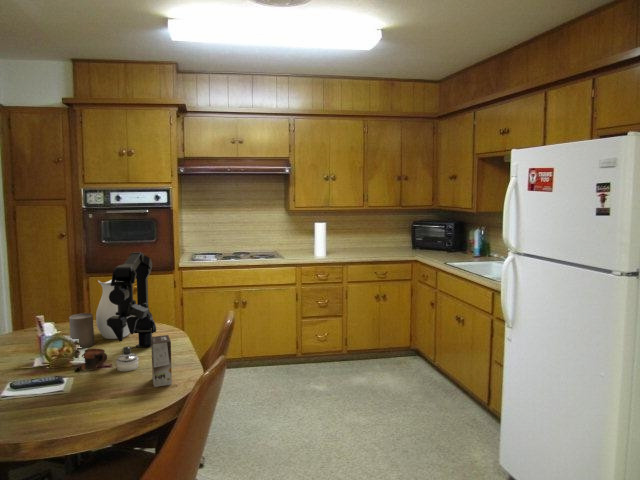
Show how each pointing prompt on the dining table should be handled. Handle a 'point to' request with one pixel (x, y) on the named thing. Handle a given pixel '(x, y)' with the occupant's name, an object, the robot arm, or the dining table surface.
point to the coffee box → (161, 360)
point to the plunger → (127, 355)
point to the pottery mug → (93, 358)
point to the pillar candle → (82, 329)
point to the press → (127, 365)
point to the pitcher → (107, 313)
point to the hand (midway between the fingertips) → (126, 337)
